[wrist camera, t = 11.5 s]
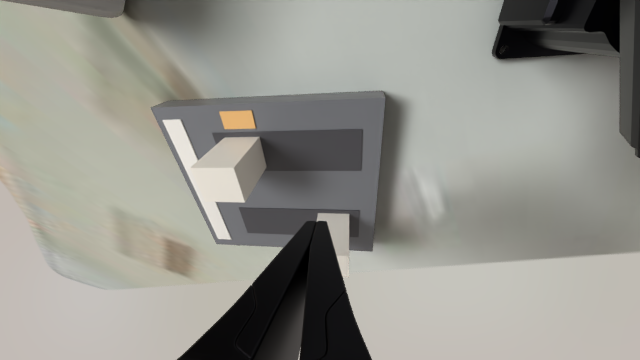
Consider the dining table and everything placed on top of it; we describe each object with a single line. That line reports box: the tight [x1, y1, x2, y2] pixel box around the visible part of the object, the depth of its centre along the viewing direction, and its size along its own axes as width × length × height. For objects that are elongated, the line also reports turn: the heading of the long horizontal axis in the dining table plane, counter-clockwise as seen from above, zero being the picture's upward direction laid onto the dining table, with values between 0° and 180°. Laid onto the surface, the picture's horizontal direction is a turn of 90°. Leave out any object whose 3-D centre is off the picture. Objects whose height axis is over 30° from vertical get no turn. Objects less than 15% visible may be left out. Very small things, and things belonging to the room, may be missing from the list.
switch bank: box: [151, 91, 385, 251], centre depth 22 cm, size 18×16×2 cm
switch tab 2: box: [317, 213, 349, 277], centre depth 21 cm, size 3×3×5 cm
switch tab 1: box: [190, 137, 266, 202], centre depth 17 cm, size 3×3×5 cm
